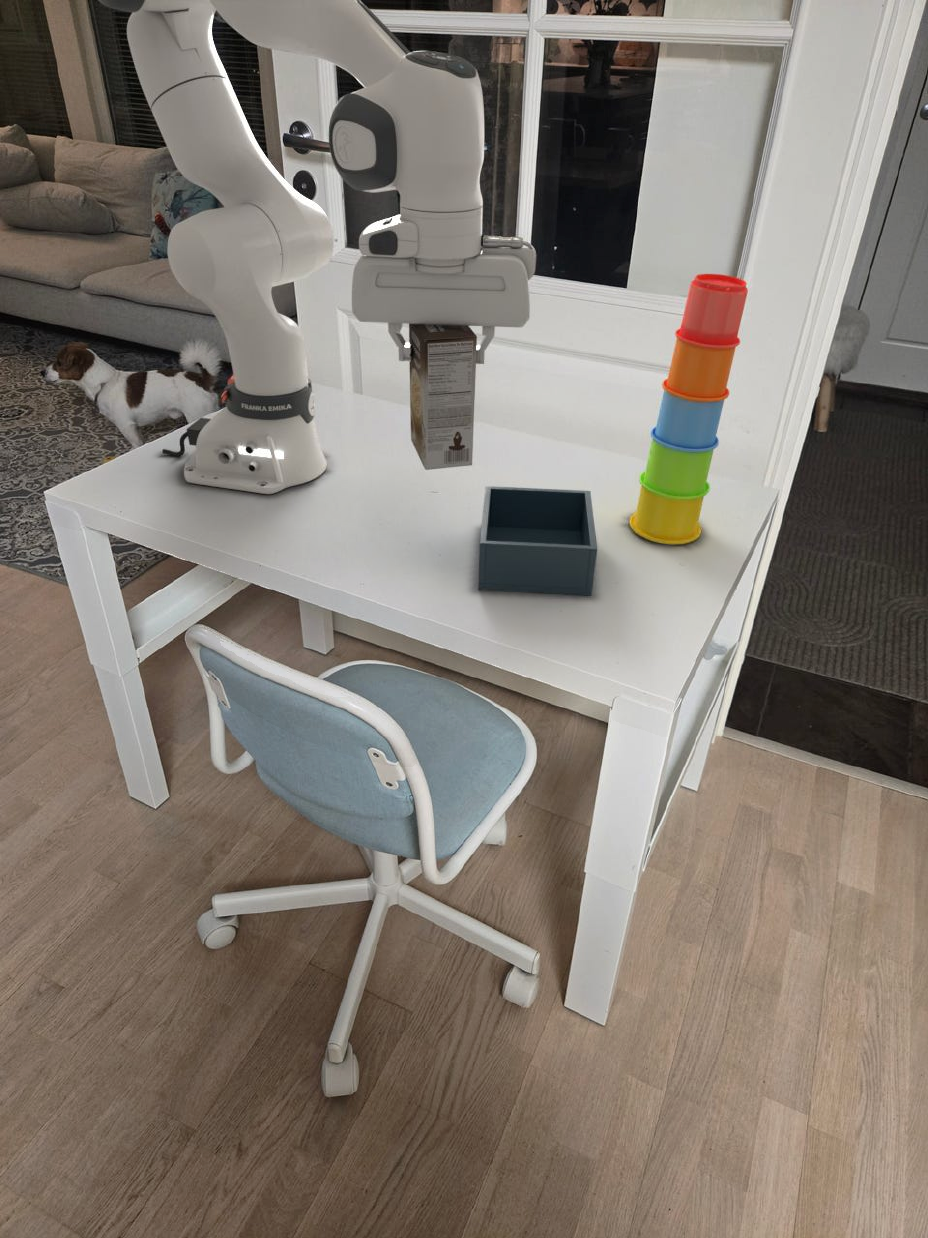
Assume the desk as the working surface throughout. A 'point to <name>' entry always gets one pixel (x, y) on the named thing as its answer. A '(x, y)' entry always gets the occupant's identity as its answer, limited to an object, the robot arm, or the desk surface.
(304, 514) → the desk surface
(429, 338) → the coffee box
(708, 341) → the stacking cups
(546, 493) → the open square box
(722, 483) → the desk surface
